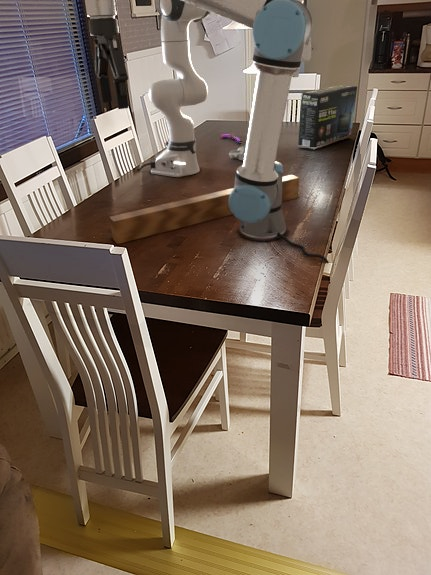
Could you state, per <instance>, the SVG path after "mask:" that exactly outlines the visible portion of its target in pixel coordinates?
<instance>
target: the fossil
mask: <svg viewBox="0 0 431 575" xmlns="http://www.w3.org/2000/svg"><path fill="white" fill-rule="evenodd" d="M245 148H246V142H245V143H244V145H242V146H240V147H238V149H232V150H230V152H229V153H228V155H229V158H230V159H231V160H239V161H244V155H245Z"/></svg>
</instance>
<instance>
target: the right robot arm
mask: <svg viewBox="0 0 431 575" xmlns="http://www.w3.org/2000/svg"><path fill="white" fill-rule="evenodd" d="M181 1H184V2H186V3H189V4H191V5H194V6H196V7H199V8H201V9H204V10H206V11H209V12H211V13H210V14H214V15H217V16H218V17H221V18H224V19H226V20H229V21H232V22H234V23H236V24H238V25H242V26H244V27H245V28H248V29H252V39H253V44H254V48H253V55H252V63H253V65H254V66H255V68H256V70H257V71H256V77H255V83H254V90H253V97H252V104H251V110H250V117H249V123H248V129H247V136H246V142H245V143H246V148H245V155H244V160H242V161H243V162H242V164H241V165H240V166H238V167H237V168H236V171H235V178H234V185H233V188H234V189H233V190H232V192H231V193H230V196H229V208H230V210H231V212H232V213H233V214H232V215H233V216H234V217H235V218H236V219H237V220H239V221H240V222H239V226H238V232H239V235H240V236H241V237H242V238H244V239H247V240H250V241H254V242H271V241H277V240H279V239H282V240H283V241H285V243H287V244H288V245H290V246H292V247H295V248H299V249H301V251H302V253H303V254H304V255H305V256H307V257H310V258H318V259H321V260H323V262H324V263H325V264H330V261H329V260H328V259H327V258H326V256H324V255H323V254H319V253H309V252H307V249H306V247H305V246H303V245H302V244H299V243H295V242H292V241H291V240H289V239H288V238H287V237H286V236H285V235H286V234H287V223H286V221H285V216H284V214H283V210H282V202H283V201H282V180H283V177H284V168H283V167H284V166H283V164H282V163H281V162H279V161H277V155H278V150H279V146H280V139H281V135H282V130H283V125H284V119H285V114H286V109H287V105H288V104H287V103H288V99H289V98H288V97H289V92H290V88H291V83H292V79H293V77H292V75H293V73H294V72H296V71H297V70H298V69H299V68H300V64H301V60H302V55H303V50H304V45H305V44H306V43H307V41H308V39H309V37H310V38H311V35H312V31H313V17H312V13H311V12H310V10H309V8H308V6H306V5H305V4H304V2H303V3H301V2H299V1H297V0H181ZM84 4H85V10H86V16H87V17H88V18H89V19H88V28H89V29H88V30H89V34H90V36H93V37H97V38H93V46H94V74H95V75H97V78H98V83H99V89H100V96H101V102H102V103H104V104H105V103H112V102H113V98H112V91H111V84H110V78H109V77H110V74H109V72H108V71H109V70H108V69H109V67H110V70H111V72H112V75H113V77H114V79H113V81H112V83H113V84H114V89H115V96H116V103H117V110H123V109H124V110H125V109H129V100H128V92H127V86H126V84H127V83H126V82H127V81H128V80H129V76H128V72H127V69H126V65H125V61H124V57H123V54H122V50H121V44H120V40H119V39H118V38H117V39H116V38H114V36H117V35H119V34H120V28H119V20H118V18H116V16H117V15H118V11H117V7H118V2H116V0H84ZM300 69H301V68H300Z"/></svg>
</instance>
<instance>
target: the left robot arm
mask: <svg viewBox="0 0 431 575" xmlns="http://www.w3.org/2000/svg"><path fill="white" fill-rule="evenodd" d="M297 1H299V2H301V3H303V4H304V0H297ZM158 2H159V3H158V6H159V11H160V13H161V20H160V41H161V42H160V43H161V55H162V62H163V64H164V65H165V66H166V67H167V68H168V69H171V70H173V71H175V73H176V78H171V79H161V80H158V81H155V82H152V83H151V85H150V87H149V89H148V98H149V101H150V103H151V104H152V106H153V107H154V108H156V109H157V110H159V111H160V112H161V114H162V116H164V118H165V121H166V124H167V129H168V130H167V131H168V137H169V138H168V140H167V141H166V142H164V146H165V147H166V149H164V150H163V151H162V152H161V153H160V154H159V155H158V156H157V157H156V158H152V159H151V161H150V162H148V163H144V164H142V165H141V166H140V167H139V168H136V171H142V170H143V168H144V167H147V166H150V174H151V175H159V176H165V177H172V178H181V177H185V176H191V175H195V174H198V173H199V172H200V171H201V169H200V166H199V163H198V157H197V144H196V142H197V141H196V138H195V124H194V120H193V119H192V118H191V117H190V116H188V115H186V114H183V112H182V111H181V108H182V107H188V106H196V105H199V104H202V103H204V102H205V101H206V100H207V98H208V94H209V89H208V88H209V87H208V85H207V83H206V81H205V80H204V79H203V78H202V77H200V75H199V74H198V73H197V72H196V70H195V68H194V66H193V64H192V63H193V62H192V59H191V51H190V50H191V49H190V37H189V26H190V23H191V22H193V23H194V24H195V23H198V22H199V21H202V20H204V19H206V18H207V17H209V16H211V14H212V13H211V12H209V11H206V10H204V9H201V8H199V7H196V6H194V5H191V4H189V3H186V2H184V1H181V0H159V1H158ZM311 42H312V40H311V36H310V37H309V39H308V41H307V43H306V44H305V45H304V50H303V55H302V60H301V64H300V68H299V69H298V70H297V71H296V72H294V73H293V75H292V78H299V77H300V71H301V68H302V66H303V63H309V62H310V60H311V59H312V43H311Z"/></svg>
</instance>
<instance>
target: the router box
mask: <svg viewBox="0 0 431 575" xmlns="http://www.w3.org/2000/svg"><path fill="white" fill-rule="evenodd" d="M357 93H358V86H356V85H350V84H339V85H338V84H337V85H334V86H328V87H324V88H318V89H314V90H309V91H304V92H301V93H300V109H299V110H300V111H299V124H298V137H297V146H298V145H302V146H307V147H317V146H320V145H323V144H325V143H328V142H331V141H333V140H336V139H338V138H341V137H344V136H347V135H351V136H352V133H353V132H352V131H353V125H354V115H355V109H356V99H357ZM311 151H313V150H312V149H311Z"/></svg>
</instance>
